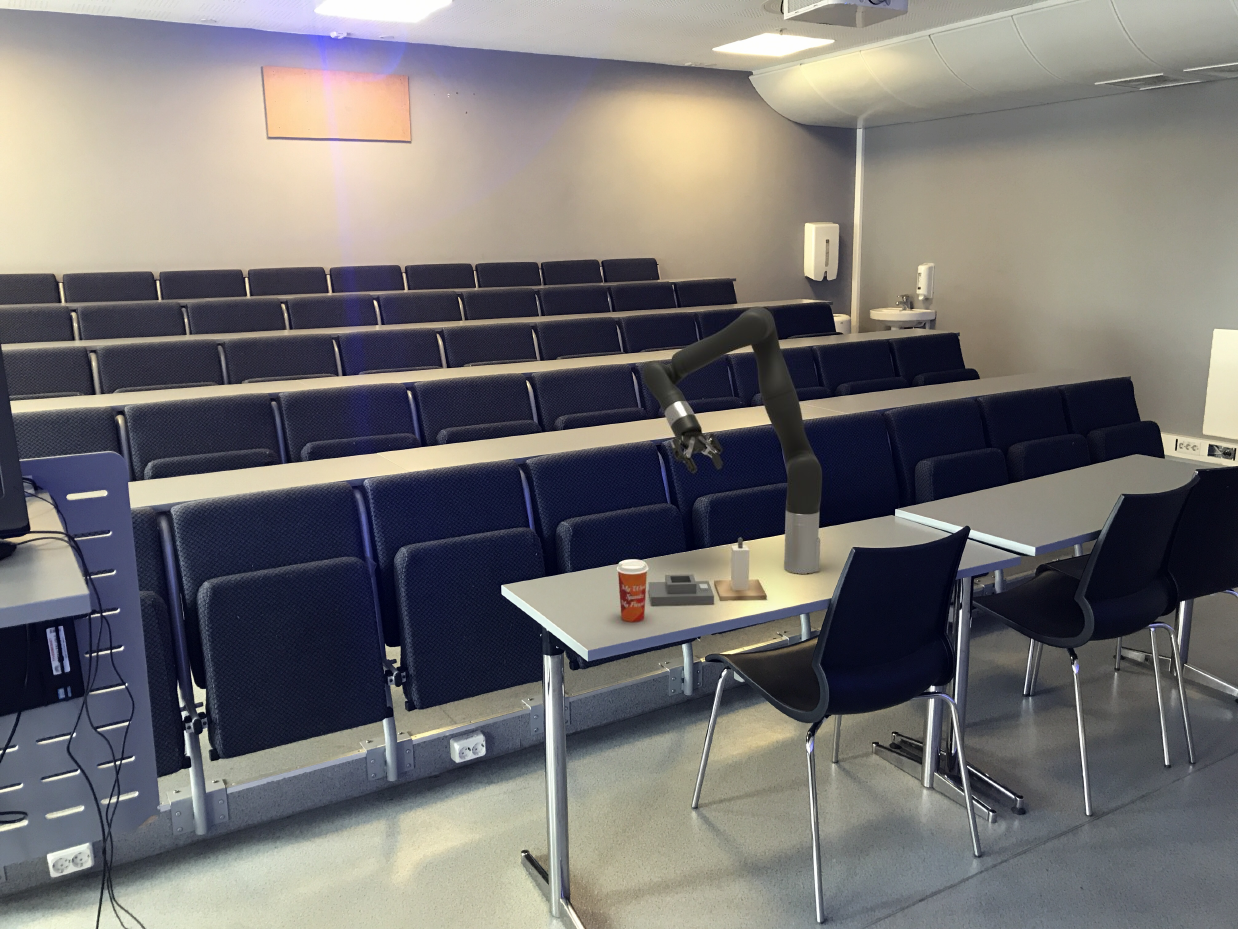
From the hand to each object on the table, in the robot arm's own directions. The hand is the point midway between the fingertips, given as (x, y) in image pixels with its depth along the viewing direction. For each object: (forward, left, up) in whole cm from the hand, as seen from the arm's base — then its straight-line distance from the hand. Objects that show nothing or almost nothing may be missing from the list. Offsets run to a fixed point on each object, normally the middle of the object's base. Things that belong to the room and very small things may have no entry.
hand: (707, 469), depth 250 cm
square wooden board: (-7, +12, -31) cm, 34 cm away
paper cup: (+22, +28, -31) cm, 47 cm away
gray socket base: (+9, +15, -31) cm, 35 cm away
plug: (-7, +12, -29) cm, 33 cm away
